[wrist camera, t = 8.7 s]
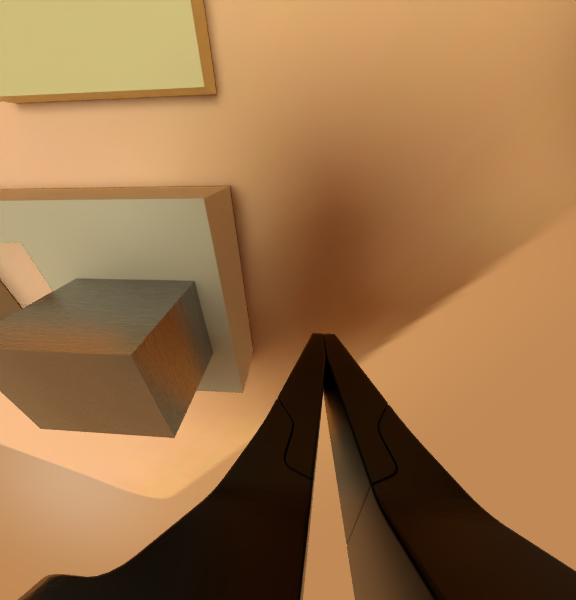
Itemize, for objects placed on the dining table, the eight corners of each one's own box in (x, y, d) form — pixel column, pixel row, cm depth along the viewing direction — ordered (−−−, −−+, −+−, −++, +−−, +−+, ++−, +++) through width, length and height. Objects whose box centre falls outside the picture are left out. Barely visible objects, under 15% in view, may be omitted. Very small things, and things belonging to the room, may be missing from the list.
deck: (229, 185, 10) (174, 212, 6) (253, 353, 16) (233, 428, 11) (-89, 190, 11) (-324, 216, 7) (36, 344, 17) (-54, 411, 12)
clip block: (194, 280, 9) (130, 355, 6) (213, 353, 12) (174, 438, 8) (76, 278, 10) (-47, 347, 6) (116, 349, 12) (40, 428, 9)
